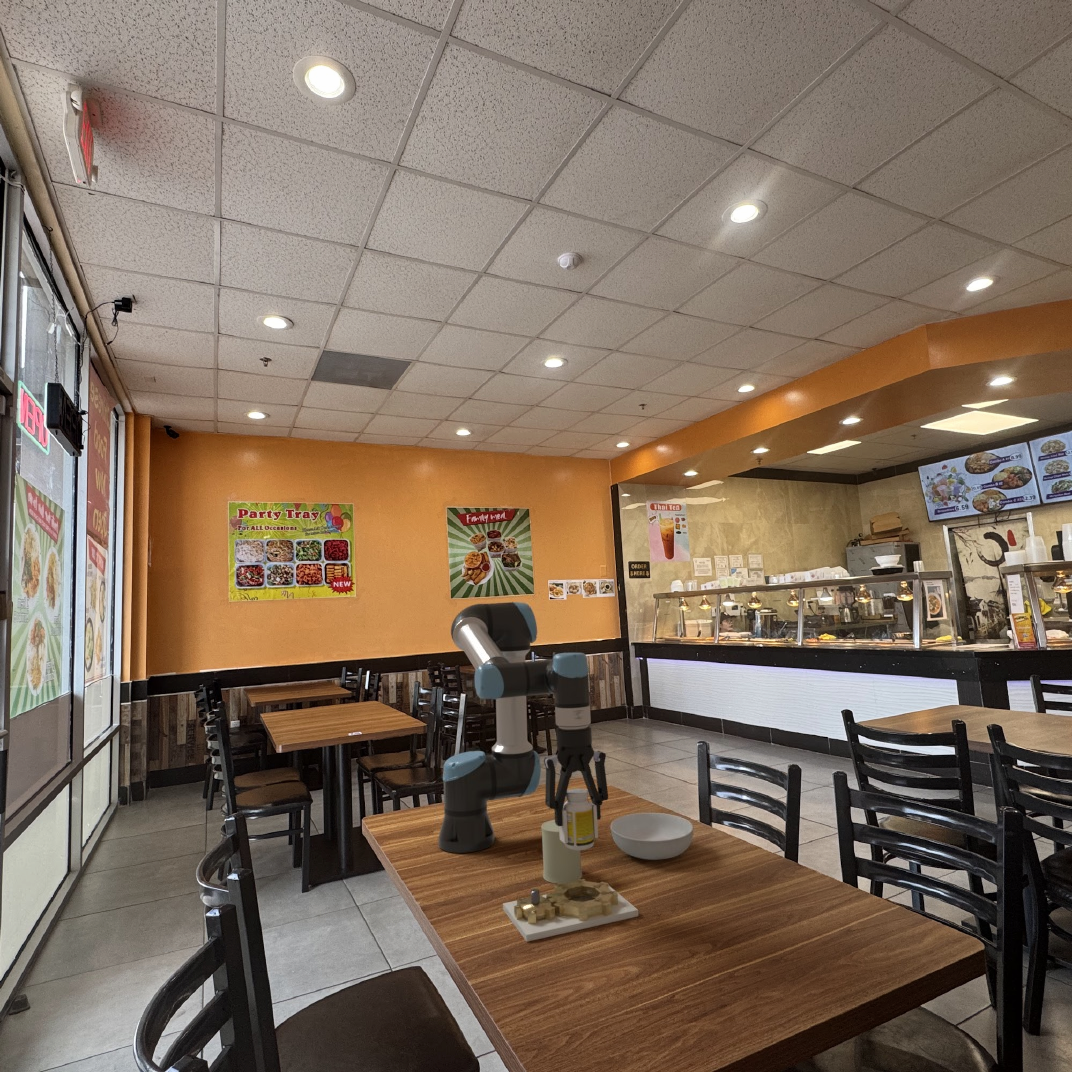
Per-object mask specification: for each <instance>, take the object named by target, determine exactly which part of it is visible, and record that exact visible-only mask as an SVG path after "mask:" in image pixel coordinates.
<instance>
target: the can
mask: <svg viewBox="0 0 1072 1072" xmlns="http://www.w3.org/2000/svg"><path fill="white" fill-rule="evenodd" d="M541 838H542V840H541V841H542V862H543V863H542V864H543V866H542V867H543V873H542V874H543V875H542V877H543V879H544V880H545V881H546V882H548V883H551V884H554V885H556V884H558V883H562V884H566V883H571V882H576V881H577V879H583V878H582V877H583V872H582V858H581V850H573V849H569V848H567V847H566V846H565V843H563V842H562V841H561V840H560V833H559V826H557V825H556V823H555V819H551V820H547V821H545V822H543V823H542V824H541Z"/></svg>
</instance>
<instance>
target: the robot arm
mask: <svg viewBox="0 0 1072 1072" xmlns="http://www.w3.org/2000/svg"><path fill="white" fill-rule="evenodd" d="M537 624H538V623H537V620H536V616H535V614H534V611H533V609H532V608H531V606H530V605H529V604H527V603H526V602H520V601H519V602H516V601H515V602H514V601H512V602H510V601H509V602H496V603H495V602H493V603H475V604H472V605H469V606H466V607H465V608H464V609H462V610H461V611H460V612H458V613H457V615H456V616H455V617H454V619H453V620H452V623H451V625H450V626H451V627H450V635H451V636H450V637H451V639H452V642H453V643H454V644H455V646H456V648H458V649H459V650H461V651H463V652H464V653H465V656H467V658H468V660H469V661H470V663H471V664H472V666H473V668H474V670H475V672H474V688H475V692H476V695H477V697H478V698H479V699H481V700H491V699H492V700H495V708H496V709H495V712H496V713H495V714H496V715H495V716H496V742H495V744H494V745H493V746H491V755H486V753H485V752H484V751H481V750H475V751H473V750H470V751H465V752H460V753H458V754H455V755H452V756H450V757H449V758H448V759H446V760H445V762H444V764H443V772H442V773H443V774H442V781H443V804H444V805H443V807H444V816H443V820H442V824H441V827H440V831H439V834H438V847H439V848H440V850H442V851H445V852H448V853H456V854H462V853H466V854H467V853H474V852H479V851H482V850H485V849H488V848H489V847H491V846H492V845H494V843H495V830H494V829H493V828H494V827H493V825H492V822H491V818H490V816H489V813H488V802H489V801H495V800H503V799H509V798H510V799H511V798H517V797H518V798H522V797H524V796H529V795H532V794H533V793H535V792H536V790H537V789H538V788H539V785H540V780H541V774H542V769H541V768H542V766H541V763H540V762H541V758H540V756H539V753H538V752H537V751H535V750H534V747H533V744H531V743H530V742H529V741H528V719H527V717H528V716H527V713H528V712H527V696H528V697H529V696H539V695H550V694H551V695H554V706H555V707H554V708H555V709H554V711H555V712H554V713H555V725H556V726H557V727H556V729H555V733H556V752H555V755H552V756H550V757H544V758H543V763H544V766H545V801H544V802H545V806H547V807H548V808H550V809H551V810H552V809H553V810H554V820H555V823H556V825H557V826H559V833H560V840H561V841H562V842H563V843H565V844H566V843H568V831H567V810H565V809H564V808H563V806H564V803H565V802H566V801H565V800H566V793H567V790H568V788H569V784H570V779H571V778H572V775H573V773H576V772H580V773H581V775H582V778H583V781H584V784H585V787H586V790H587V791H588V796H589V798H590V800H591V801H590V803H591V805H592V814H593V831H594V839H598V838H599V828H598V827H599V826H598V821H601V817H602V815H601V806H602V805H603V802H604V801H607V800H608V799H609V792H608V791H609V790H608V784H607V776H606V765H605V763H606V757H607V754H606V753H605V752H604V751H601V750H594V748H593V746H592V745H593V743H592V742H593V740H592V739H593V737H592V736H593V735H592V727H591V726H590V724H591V722H592V720H591V703H590V682H589V681H590V680H589V673H590V672H589V671H590V668H589V665H588V657H587V655H586V654H585V653H584V652H561V653H556V654H554V656H553V658H545V659H543V660H534V661H526V656H527V654H528V653H529V652H530V651H531V644H533V643H535V642H536V640H537V638H538V637H537V635H538V626H537ZM592 759H593V761H594V770H595V778H596V783H595V780H594V777H593V774H592V769H591V766H590V763H591V761H592ZM557 763H559V765H560V766H561V767H560V772H559V774H560V776H559V780H558V784H557V788H556V775H557V774H556V767H557V766H558V765H557Z"/></svg>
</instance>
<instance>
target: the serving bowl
mask: <svg viewBox="0 0 1072 1072" xmlns="http://www.w3.org/2000/svg"><path fill="white" fill-rule="evenodd" d="M609 828H610V833H611V838H612V839H613V842H614V843H615V845H616V846H617V847H618V848H619V849H620V850H621V851H622V852H624V853H626V854H627V855H629V856H631V857H634V858H637V859H642V860H650V861H658V860H665V859H667V860H668V859H670V858H675V857H677V856H680V855H681V854H683V853H684V852H685V851H686V850H687V849H688V848H689V847H690V845H691V843H692V840H693V837H694V825H693V823H691V821H689V820H688V819H686V818H683V817H681V816H679V815H674V814H669V813H662V812H638V813H631V814H627V815H626V814H625V815H622V816H620V817H618V818H615V819H614V820H613V821H611V823H610V827H609Z"/></svg>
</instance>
